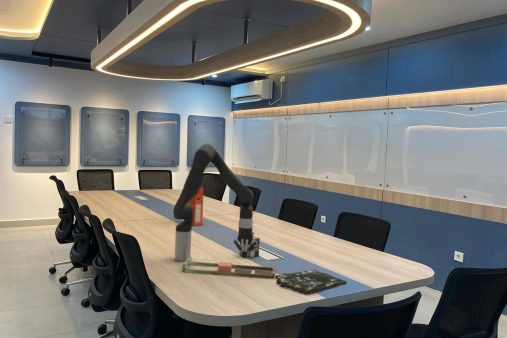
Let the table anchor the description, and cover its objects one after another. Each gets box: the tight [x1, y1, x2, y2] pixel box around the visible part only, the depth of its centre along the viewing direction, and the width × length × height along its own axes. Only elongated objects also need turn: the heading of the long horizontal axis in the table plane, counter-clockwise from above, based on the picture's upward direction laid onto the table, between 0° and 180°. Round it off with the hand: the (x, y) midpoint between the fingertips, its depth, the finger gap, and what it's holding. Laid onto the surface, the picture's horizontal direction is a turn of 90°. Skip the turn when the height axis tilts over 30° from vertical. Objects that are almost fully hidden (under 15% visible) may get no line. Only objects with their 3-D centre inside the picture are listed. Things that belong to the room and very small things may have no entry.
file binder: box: [188, 186, 204, 227], centre depth 335 cm, size 8×17×32 cm, turn 36°
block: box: [217, 261, 233, 272], centre depth 217 cm, size 7×7×4 cm
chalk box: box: [239, 231, 261, 259], centre depth 249 cm, size 9×9×15 cm
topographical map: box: [274, 269, 348, 296], centre depth 206 cm, size 26×33×3 cm
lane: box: [182, 256, 276, 279], centre depth 217 cm, size 14×49×4 cm, turn 86°
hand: (244, 257), depth 216 cm, fingers closed
